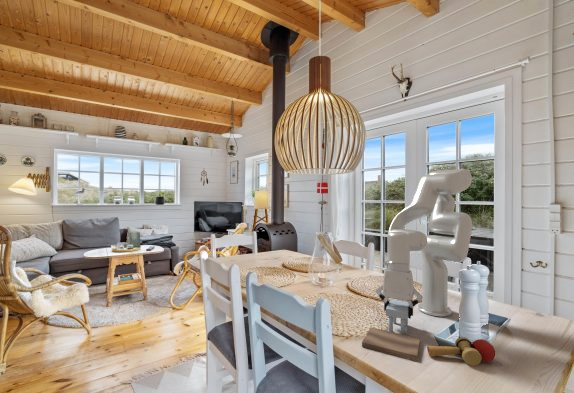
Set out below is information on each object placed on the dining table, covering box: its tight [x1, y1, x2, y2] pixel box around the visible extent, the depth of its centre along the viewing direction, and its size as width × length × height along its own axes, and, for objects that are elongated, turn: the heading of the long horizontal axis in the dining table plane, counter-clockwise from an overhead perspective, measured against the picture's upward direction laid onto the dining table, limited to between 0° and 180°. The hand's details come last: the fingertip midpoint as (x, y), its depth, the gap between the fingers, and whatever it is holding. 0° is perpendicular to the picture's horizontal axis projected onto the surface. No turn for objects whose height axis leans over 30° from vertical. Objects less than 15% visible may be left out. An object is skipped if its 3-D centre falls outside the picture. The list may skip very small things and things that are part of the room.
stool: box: [385, 298, 409, 335], centre depth 105 cm, size 10×7×8 cm
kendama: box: [426, 336, 496, 366], centre depth 86 cm, size 8×6×18 cm
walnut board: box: [361, 326, 421, 362], centre depth 94 cm, size 12×16×2 cm
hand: (398, 314), depth 105 cm, fingers closed on stool, 7 cm apart
